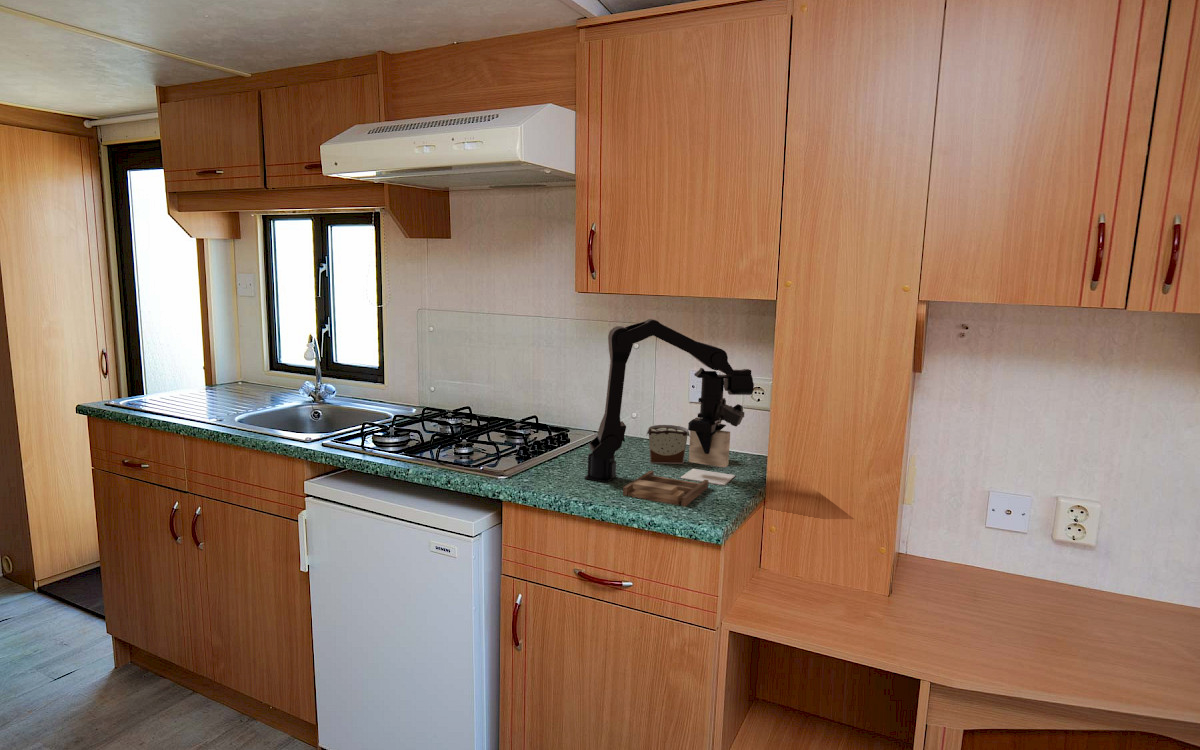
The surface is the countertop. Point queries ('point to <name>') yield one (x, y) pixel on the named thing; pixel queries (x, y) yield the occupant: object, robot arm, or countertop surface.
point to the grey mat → (707, 476)
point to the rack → (688, 487)
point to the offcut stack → (657, 492)
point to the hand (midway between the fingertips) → (708, 452)
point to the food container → (667, 443)
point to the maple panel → (717, 449)
